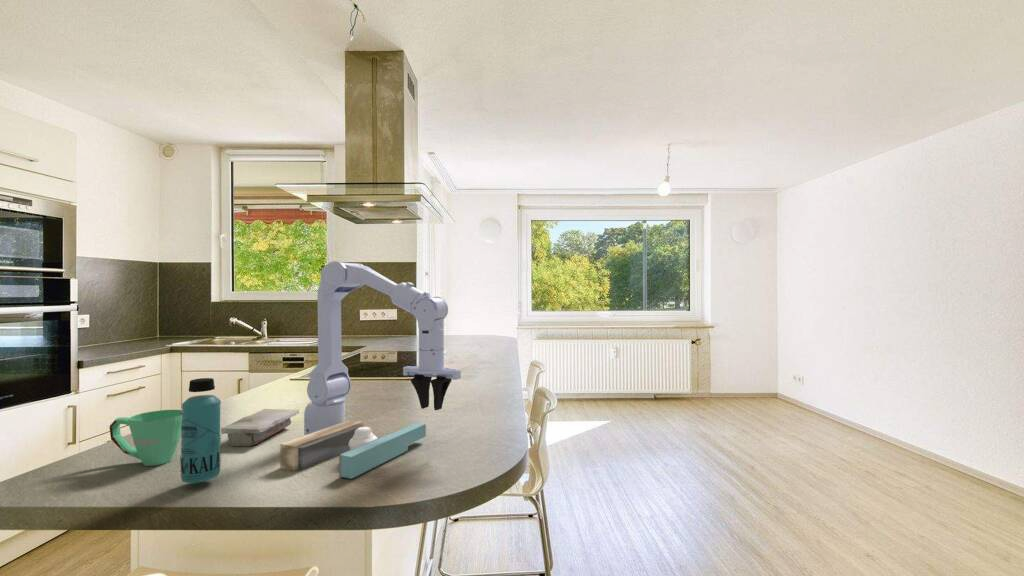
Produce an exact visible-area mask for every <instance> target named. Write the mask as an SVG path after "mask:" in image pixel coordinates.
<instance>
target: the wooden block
mask: <svg viewBox="0 0 1024 576" xmlns="http://www.w3.org/2000/svg"><path fill="white" fill-rule="evenodd" d="M363 423H364V422H363V421H361V420H360V421H359V420H352V419H350V420H349V419H348V420H345V422H343V423H340V424H337V425H334V426H331V427H328V428H325V429H322V430H319V431H316V432H313V433H311V434H308V435H305V436H304V435H302V436H299V437H297V438H293V439H291V440H288V441H284V442H282V443H280V444H279V452H280V453H279V454H280V456H279V457H280V458H279V462H280V464H279V465H280V466H279V469H282V470H287V471H290V472H291V471H292V472H296V471H298V470H299V471H305V470H308V469H309V468H312V467H314V466H316V465H319V464H321V463H323V461H324V462H326V461H328V460H330V458H331V459H333V458H335V457H337V455H338V456H339V454H342V453H344V452H347V451H349V450H350V449H351V448H350V447H349V445H348V444H349V441H350V439H352V438H353V435H354V434H355V430H356V429H357V428H360V427H362V426H363V427H365V425H363Z"/></svg>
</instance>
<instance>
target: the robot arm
mask: <svg viewBox="0 0 1024 576" xmlns="http://www.w3.org/2000/svg"><path fill="white" fill-rule="evenodd" d="M364 285H366V286H367V287H370V288H372V289H374V290H376V291H378V292H380V293H382V294H384V295H387V296H389V297H390V300H391V302H392V304H393V305H395V306H396V307H398V308H400V309H402V310H404V311H405V312H408V313H410V314H411V315H413V316H414V318H415V319H416V321H417V328H418V366H416V365H414V366H413V365H412V366H411V365H406V366H403V367H402V374H403V376H413V378H411V379H410V382H411V384H412V386H413V388H414V390H415V392H416V394H417V398H418V400H419V405H420V409H421V410H423V409H427V408H428V407H429V405H430V387H431V388H432V393H433V408H434V411H440V410H441V409H442V408H443V404H444V399H445V397H446V396H445V395H446V394H447V391H448V388H449V386H450V384H451V383H452V380H456V381H457V380H460V379H461V378H462V371H461V369H455V368H450V367H445V361H444V360H445V357H444V356H445V330H444V329H445V328H444V327H445V323H444V322H445V319H446V317H447V316H448V313H449V306H448V303H447V302H446V301H445V299H443V298H442V297H441V296H433V297H431V293H430V292H428V291H422V290H420V289H418V288H416V287H414V286H415V284H414V283H413V282H410V281H407V282H400V283H396V282H394V281H392V280H391V279H389V278H388V277H386V276H384V275H382V274H380V273H379V272H377V271H376V270H374V269H372V268H371V267H369V266H367V265H363V264H362V263H358V262H355V263H353V262H352V263H351V262H344V261H343V262H340V261H335V260H331V261H330V262H328V263H326V265H325V266H324V267H322V269H321V270H320V284H319V287H318V290H317V297H316V298H317V354H318V355H317V357H318V359H317V364H316V365H315V367H314V368H313V369H312V370H311V372H309V381H308V384H307V387H306V392H307V396H308V399H309V401H310V402H308V403H307V405H306V407H305V409H304V413H303V419H304V420H303V423H304V425H303V426H304V427H303V428H304V430H303V434H304V435H303V436H305V435H308V434H311V433H313V432H316V431H319V430H322V429H325V428H328V427H331V426H334V425H337V424H340V423H343V422H345V421H346V399H347V395H349V393H350V392H351V389H352V381H351V378H350V376H349V368H348V367H347V366H346V364H344V362H342V361H343V359H342V358H343V357H342V353H343V352H342V350H343V349H342V300H343V299H344V298H345V297H346V296H347V295H348V294H349V293H351V292H354V291H355V290H357V289H359V288H361V287H363V286H364ZM432 378H434V379H432Z"/></svg>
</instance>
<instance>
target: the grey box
mask: <svg viewBox="0 0 1024 576" xmlns="http://www.w3.org/2000/svg"><path fill="white" fill-rule="evenodd" d="M299 414H300V409H299V408H298V409H297V408H295V409H285V408H284V409H280V408H278V409H276V408H275V409H273V408H264V409H261V410H260V411H257V412H254V413H252V414H251V415H247V416H244V417H242V418H240V419H238V420H236V421H234V422H232V423H230V424H228V425H225V426H223V427H220V435H224V434H227V439H228V441H227V443H228V446H232V447H251V446H255V445H257V444H260V443H261V442H262V441H264V440H265V439H269V437H271V436H273V435H275V434H276V433H278V432H280V431H282V430H284V429H286V428H287V427H288V426H290V425H291V424H292V420H291V418H292V417H294V416H297V415H299Z"/></svg>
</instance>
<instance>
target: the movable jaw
mask: <svg viewBox="0 0 1024 576" xmlns="http://www.w3.org/2000/svg"><path fill="white" fill-rule="evenodd" d="M426 428H427V424H426V423H420V422H416V423H413V424H411V425H408V426H405V427H404V428H402V429H399V430H394V431H392V432H390V433H387V434H385V435H382V436H380V437H377V438H378V439H375V440H373V441H370V442H368V443H366V444H363V445H361V446H359V447H356V448H354V449H352V450H349V451H347V452H344V453H342V454H340V455H338V462H339V463H338V476H339V477H342V478H346V479H355V478H357V477H358V476H360V475H362V474H364V473H366V472H368V471H370V470H372V469H374V468H376V467H378V466H379V465H382V464H384V463H386V462H387V461H390V460H392V459H394V458H395V457H398V456H400V455H402V454H404V453H406V452H408V451H409V445H411V444H413V443H415V442H417V441H420V440H422V439H423V438H425V437H427V436H426V435H427V429H426Z"/></svg>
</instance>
